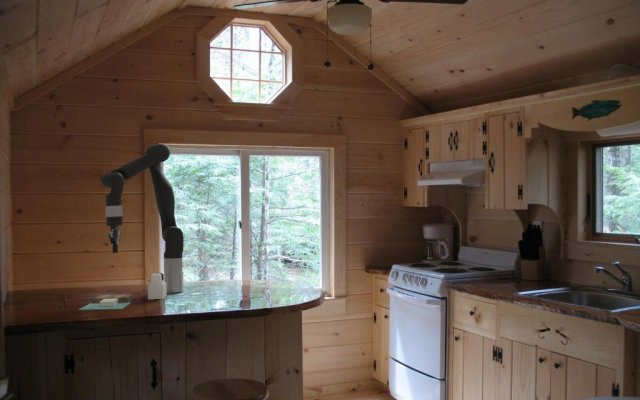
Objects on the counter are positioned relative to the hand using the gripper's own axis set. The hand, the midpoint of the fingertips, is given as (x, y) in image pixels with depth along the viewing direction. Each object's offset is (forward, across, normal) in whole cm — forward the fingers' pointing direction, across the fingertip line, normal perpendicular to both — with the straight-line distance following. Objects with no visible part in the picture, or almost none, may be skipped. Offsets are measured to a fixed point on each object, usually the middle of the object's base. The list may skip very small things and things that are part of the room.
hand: (115, 252), depth 292 cm
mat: (+22, -17, +1) cm, 28 cm away
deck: (+22, -3, +1) cm, 23 cm away
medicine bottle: (+23, +4, -18) cm, 29 cm away
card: (+22, -13, 0) cm, 26 cm away
